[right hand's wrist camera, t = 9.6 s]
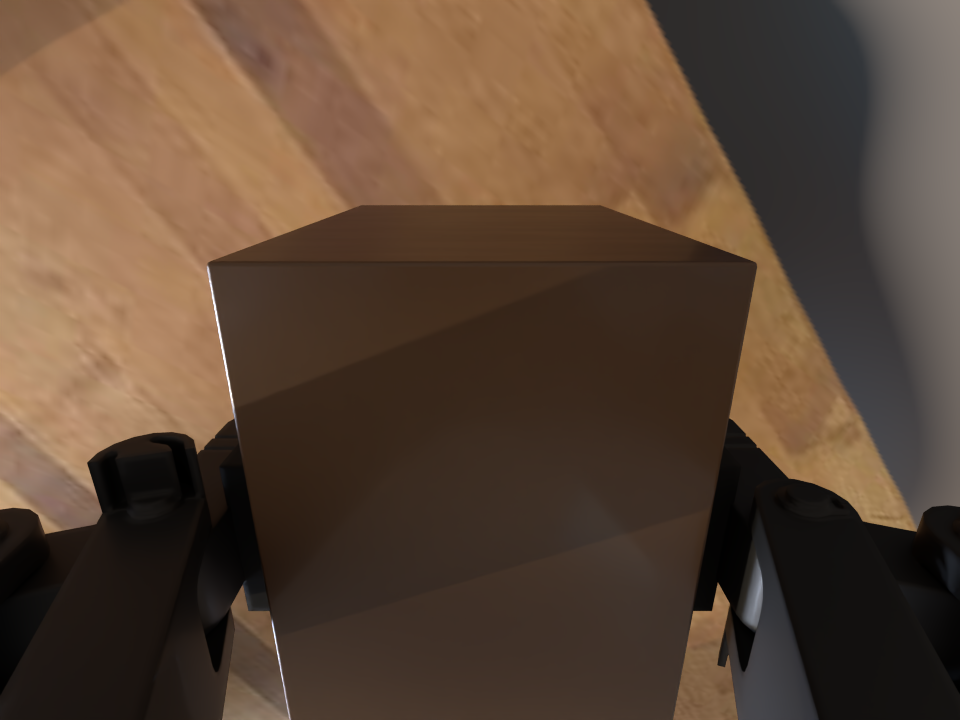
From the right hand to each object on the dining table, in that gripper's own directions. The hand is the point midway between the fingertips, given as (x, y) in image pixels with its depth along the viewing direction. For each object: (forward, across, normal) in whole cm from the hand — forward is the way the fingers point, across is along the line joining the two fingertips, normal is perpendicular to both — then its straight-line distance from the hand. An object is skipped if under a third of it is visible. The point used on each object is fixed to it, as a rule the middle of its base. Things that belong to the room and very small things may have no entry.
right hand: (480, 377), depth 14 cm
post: (0, 0, -28) cm, 28 cm away
